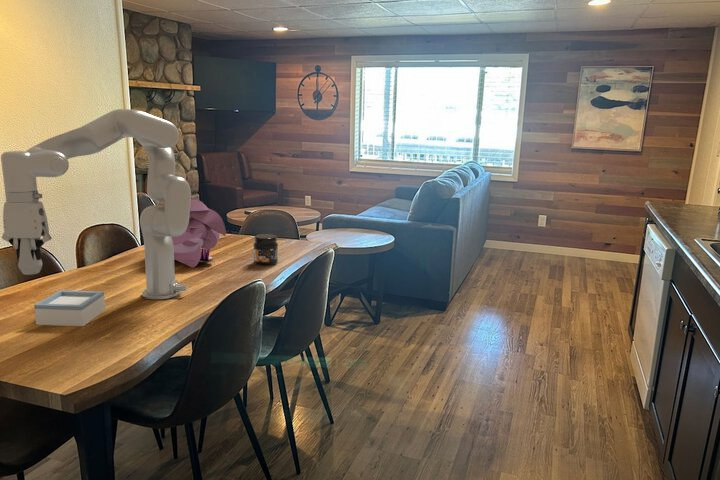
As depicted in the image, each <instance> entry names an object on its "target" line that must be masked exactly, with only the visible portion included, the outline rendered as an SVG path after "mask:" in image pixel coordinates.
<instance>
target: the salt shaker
mask: <svg viewBox="0 0 720 480" xmlns="http://www.w3.org/2000/svg"><path fill="white" fill-rule="evenodd" d="M31 250H33V249H32V246H31V241H30V239H21V241H20V255H19V263H18V262H17V263H18V264H17V267H18V269H19V270H20V272H21V273H22V275H25V276H30V275H37V274H39V273H40V272H41V270H42V267H43V265H44V264H43V261H42V258H41V259H40V260H37V259H36V255H35V252H34V261H33V258H32V255H31Z"/></svg>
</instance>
